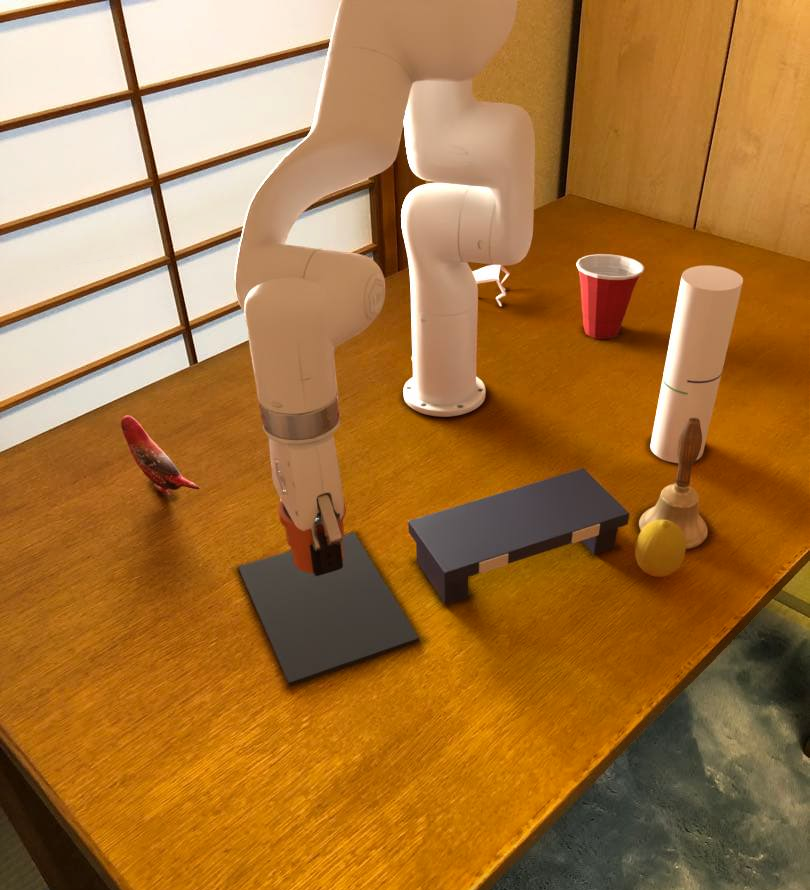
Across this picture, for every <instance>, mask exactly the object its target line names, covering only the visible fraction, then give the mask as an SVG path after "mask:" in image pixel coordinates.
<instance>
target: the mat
mask: <svg viewBox="0 0 810 890" xmlns="http://www.w3.org/2000/svg"><path fill="white" fill-rule="evenodd" d="M360 541H361V540H360V539H359V538H358V536H357V534H356V533H355V531H352V532H349V533H346V534H344V538H343V540H342V544H343V559H342V561H343V567H342V568H341V569H339V570H336V571H333V572H329V573H326V574H323V575H320V576H315V574H314V573H307V572H304V571H301V570H300V569H298V568H297V567H296V566H295V565H294V563H293V559H292V553H291V550H289V551H285V552H282V553H279V554H275V555H272V556H269V557H266V558H262V559H258V560H256V561H251V562H249V563H246V564H242V565H239V566H238V567H237V569H238V572H239V575H240V576H241V579H242V582H243V584H244V586H245V589H246V590H247V593H248V595H249V597H250V600H251V602H252V604H253V607H254V609H255V611H256V613H257V615H258V616H257V617H258V618H259V620H260V622H261V625H262V627H263V629H264V632H265V635H266V636H267V639H268V641H269V643H270V646H271V648H272V650H273V653H274V655H275V658H276V659H277V661H278V665H279V666H280V669H281V671H282V674H283V676H284V678H285V681H286V683H287V685H288V687H292V686H295V685H298V684H301V683H304V682H306V681H307V682H308V681H309V680H312V679H315V678H319V677H321V676H324V675H326V674H330V673H333V672H335V671H339V670H342V669H344V668H347V667H350V666H353V665H356V664H359V663H362V662H365V661H367V660H371V659H372V658H376V657H379V656H382V655H386V654H388V653H391V652H394V651H396V650H399V649H402V648H405V647H409V646H411V645H414V644H417V643H420V637H419V635H418V633H417V632H416V630H415V629H414V627H413V625H412V624H411V623H410V621H409V619H408V618H407V616H406V614H405V612H404V610H403V609H402V608H401V606H400V605H399V603H398V601H397V599H396V598H395V595H394V594H393V593H392V592H391V590H390V588H389V587H388V584H386V582H385V580H384V579H383V577H382V575H381V574H380V572H379V571H378V569H377V567H376V566H375V564H374V562H373V561H372V559H371V557H370V556H369V555H368V553H367V551H366V549H365V548H364V546H363V544H362V542H360Z"/></svg>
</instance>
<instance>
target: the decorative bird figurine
mask: <svg viewBox="0 0 810 890" xmlns="http://www.w3.org/2000/svg"><path fill="white" fill-rule="evenodd" d="M120 427H121V430H122V434H123V436H124V439H125V441H126V443H127V446H128V448H129V450H130V451H129V452H130V453H131V455H132V457H133V459H134V461H135V463H136V464H137V466H138V468H139V469H140V470H141V471H142V473H143V474H144V475H145V476H146V477H147V478H148V480H150V481H149V482H151V483H152V484H153V485H154V487H155V489H157V490H158V491H159V492H161V493H163V494H165V495H166V496H168V497H170V498H172V495H171V493H170V492H169V491H168V490H170V491H177V490H179V489H180V488H182V487H185V488H188V489H189V488H190V489H193V490H200V489H201V488H200V486H198V485H197V484H195V483H194V482H192V481H191V480H188V479H187V478H185V477H184V476H183V475H182V473H181V472H180V470H179V469H178V467H177V466H176V465H175V463H174V462H173V461H172V459H171V458H170V457H169V456H168V455H167V454H166V453H165V452H164V451H163V450H162V449H161V447H159V445H158V444H157V443H156V442H155V441H154V440H153V439H152V438H151V437H150V435H149V434H148V433H147V432H146V429H144V427H143V425H141V424H140V423H139V421H137V420H136V419H135V418H134V417H133V416H132V415H124V416H123V417H122V418H121V420H120Z"/></svg>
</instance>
